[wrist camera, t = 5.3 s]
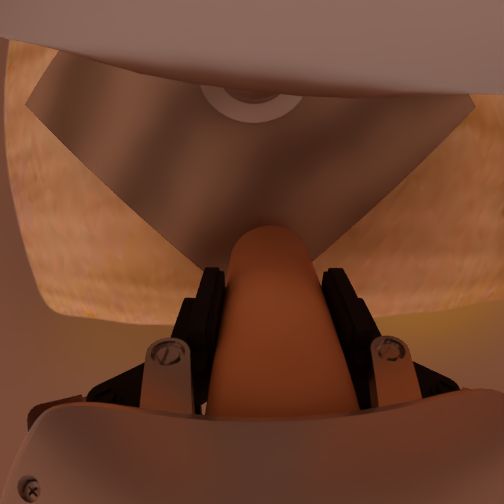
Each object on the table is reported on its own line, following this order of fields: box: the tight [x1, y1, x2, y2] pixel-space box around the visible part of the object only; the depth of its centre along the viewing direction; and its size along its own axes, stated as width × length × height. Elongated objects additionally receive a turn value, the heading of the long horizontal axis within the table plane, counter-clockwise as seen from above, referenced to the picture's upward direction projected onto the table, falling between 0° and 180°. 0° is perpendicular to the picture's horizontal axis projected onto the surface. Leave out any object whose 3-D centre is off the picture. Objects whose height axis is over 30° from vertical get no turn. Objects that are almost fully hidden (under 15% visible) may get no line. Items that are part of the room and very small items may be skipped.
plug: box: [205, 226, 360, 417], centre depth 10 cm, size 4×4×10 cm
